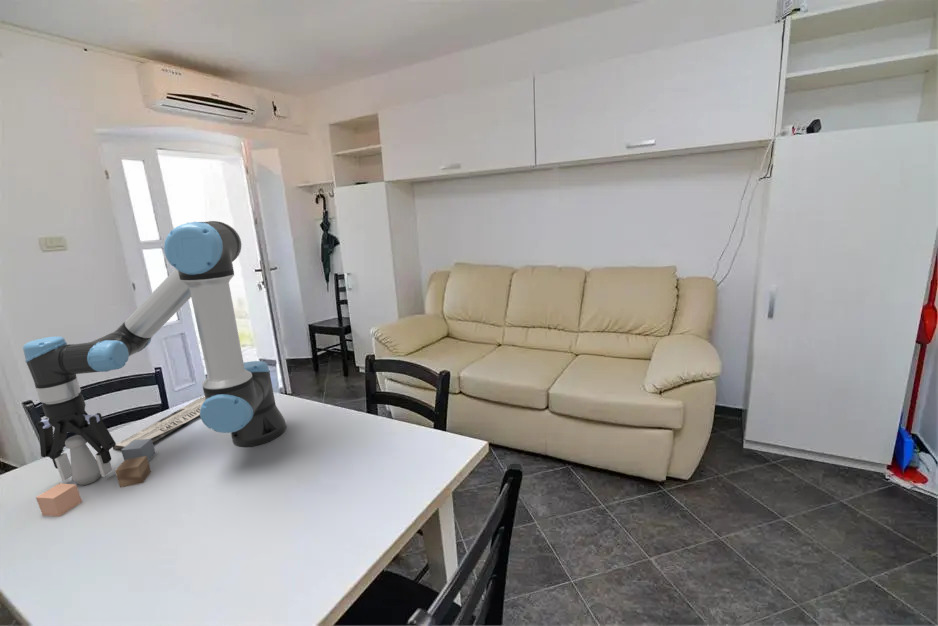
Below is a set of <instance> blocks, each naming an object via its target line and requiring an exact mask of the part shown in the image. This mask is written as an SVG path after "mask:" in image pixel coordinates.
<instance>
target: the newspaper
mask: <svg viewBox="0 0 938 626" xmlns="http://www.w3.org/2000/svg"><path fill="white" fill-rule="evenodd" d="M202 397H203V398H202ZM199 398H200V399H199ZM199 398H198V399H195V400H194V401H191V402H190V403H188V404H186V405H185V406H183V407H181V408H179V409H178V410H175V411H174V412H172V413H170V414H168V415H167V416H165V417H163V418H161V419H159V420H158V421H156V422H154V423H152V424H150V425H148V426H147V427H145V428H143V429H141V430H139V431H138V432H136V433H133V434H132V435H130V436H129V437H127V438H125V439H124V440H123V439H122V440H121V441H120V442H118V443H116V445H115V446H114V447H112V449H113V450H114V451H115V450H119V449H120V450H122V449H123V448H124V447H126V446H127V445H128V444H129V443H131V442H132V441H134V440H143V439H152V442H153V444H154V443H156V442H157V441H158V440H160V439H162V438H163V437H165V436H167V435H168V434H170V433H172V432H174V431H176V430H177V429H179V428H180V427H183V426H184V425H186V424H188V423H189V422H192V420H194V419H196V418H198V417H200V409H201V406H202V404H203V402H204V401H205V397H204V395H203V396H200V397H199Z"/></svg>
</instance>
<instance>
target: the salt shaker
mask: <svg viewBox="0 0 938 626" xmlns="http://www.w3.org/2000/svg"><path fill="white" fill-rule="evenodd" d="M87 443H88V442H87V441H86V440H85V439H84V438H83V437H82V436H81V435H77V434H75V435H72V436H69V437H68V438H66V440H65V444H64V447H65V448H66V449H69V453H70V455H69V456H70V457H69V458H70V465H71V473H72V476H71V479H72V481H74V482H75V483H76V484H78V486H79V485H80V486H86V485H89V484H92V483H95V482H96V481H97V480H99V479H100V476H101V472H100V469H99V466H98V463H97V460H96V457H95V455H94V453H92V451H91V450H90V448H89V447H88V445H87Z"/></svg>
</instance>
